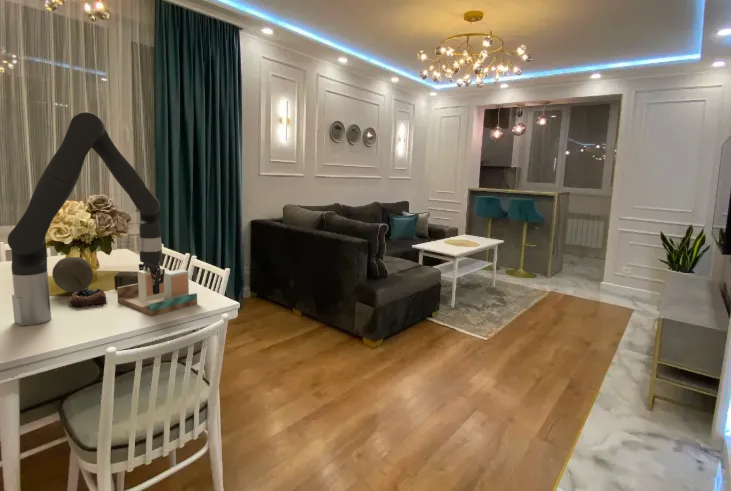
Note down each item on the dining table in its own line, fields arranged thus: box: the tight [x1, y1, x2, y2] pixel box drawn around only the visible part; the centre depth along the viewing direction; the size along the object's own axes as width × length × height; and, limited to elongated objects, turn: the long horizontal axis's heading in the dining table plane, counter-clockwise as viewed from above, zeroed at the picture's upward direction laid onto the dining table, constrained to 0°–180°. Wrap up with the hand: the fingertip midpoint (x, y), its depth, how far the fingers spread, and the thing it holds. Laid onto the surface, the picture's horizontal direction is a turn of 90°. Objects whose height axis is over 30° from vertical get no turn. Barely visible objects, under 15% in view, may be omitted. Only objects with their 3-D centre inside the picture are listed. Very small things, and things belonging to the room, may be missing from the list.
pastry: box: [68, 288, 107, 309], centre depth 161 cm, size 11×12×6 cm
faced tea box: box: [164, 268, 190, 300], centre depth 166 cm, size 8×5×11 cm, turn 147°
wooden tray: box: [116, 283, 198, 317], centre depth 166 cm, size 19×24×6 cm
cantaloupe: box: [52, 256, 94, 294], centre depth 171 cm, size 14×14×15 cm
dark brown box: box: [113, 270, 138, 290], centre depth 185 cm, size 8×19×7 cm, turn 104°
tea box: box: [137, 269, 166, 302], centre depth 158 cm, size 8×5×11 cm, turn 147°
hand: (152, 292), depth 158 cm, fingers closed on tea box, 4 cm apart
